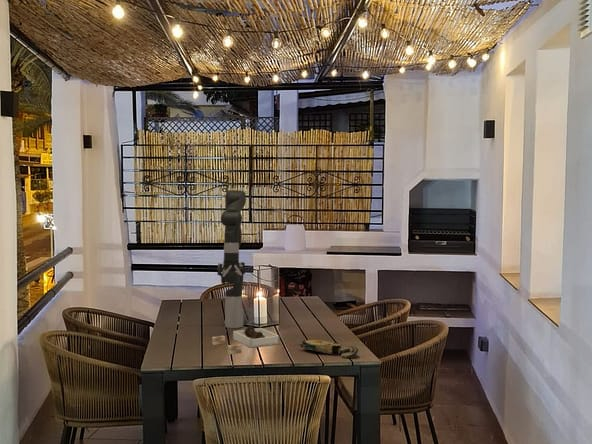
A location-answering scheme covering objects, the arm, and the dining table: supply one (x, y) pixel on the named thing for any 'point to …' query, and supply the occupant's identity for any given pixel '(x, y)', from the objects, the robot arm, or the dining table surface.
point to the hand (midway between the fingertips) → (231, 283)
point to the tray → (260, 342)
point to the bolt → (253, 333)
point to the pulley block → (329, 348)
